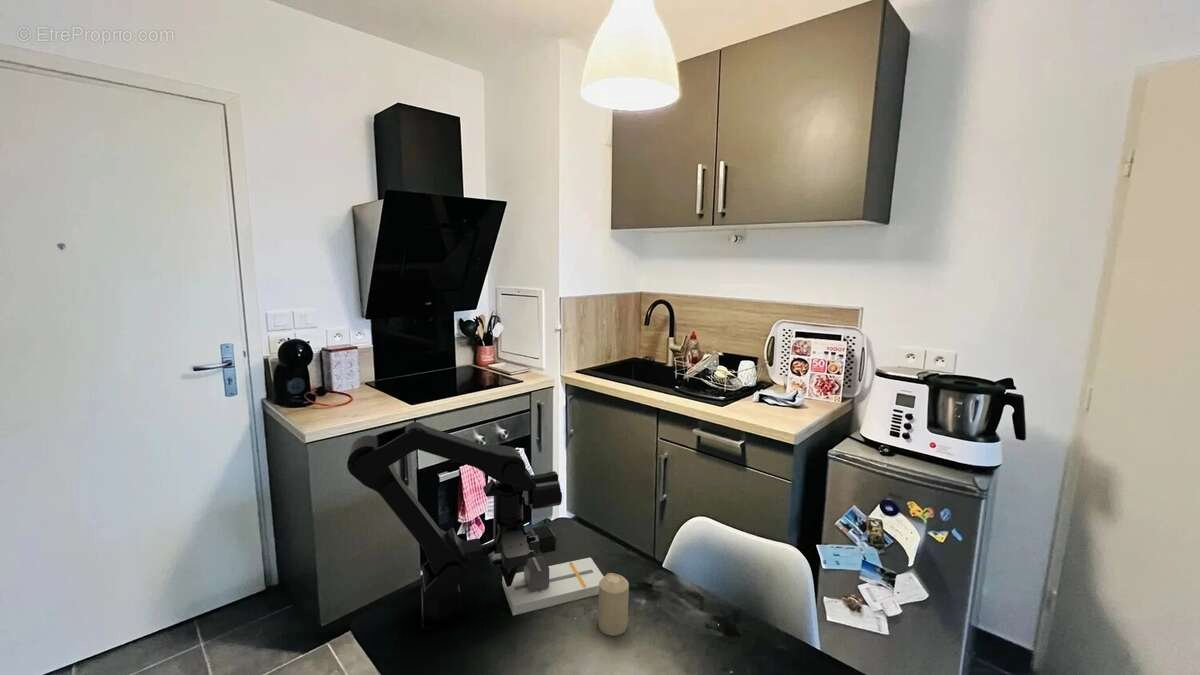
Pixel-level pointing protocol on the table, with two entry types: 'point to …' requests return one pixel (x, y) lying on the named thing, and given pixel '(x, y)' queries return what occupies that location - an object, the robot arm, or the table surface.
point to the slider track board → (555, 586)
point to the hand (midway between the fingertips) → (508, 585)
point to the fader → (536, 573)
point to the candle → (613, 604)
